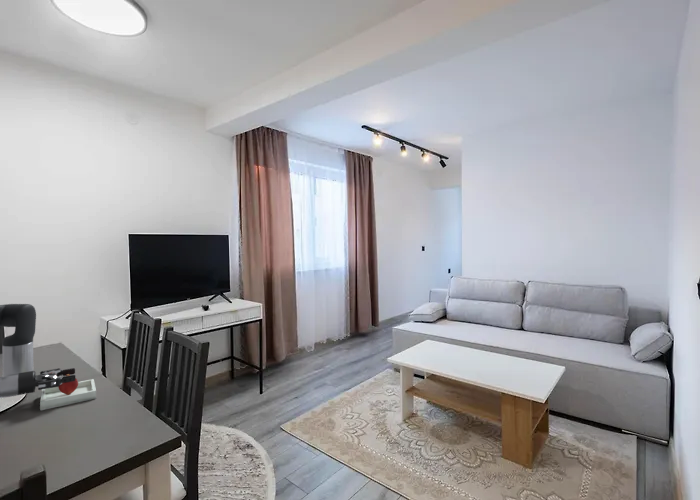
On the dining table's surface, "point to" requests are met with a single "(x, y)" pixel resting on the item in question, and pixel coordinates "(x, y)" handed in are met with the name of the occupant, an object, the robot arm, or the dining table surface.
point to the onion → (68, 387)
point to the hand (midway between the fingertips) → (75, 374)
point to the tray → (57, 398)
